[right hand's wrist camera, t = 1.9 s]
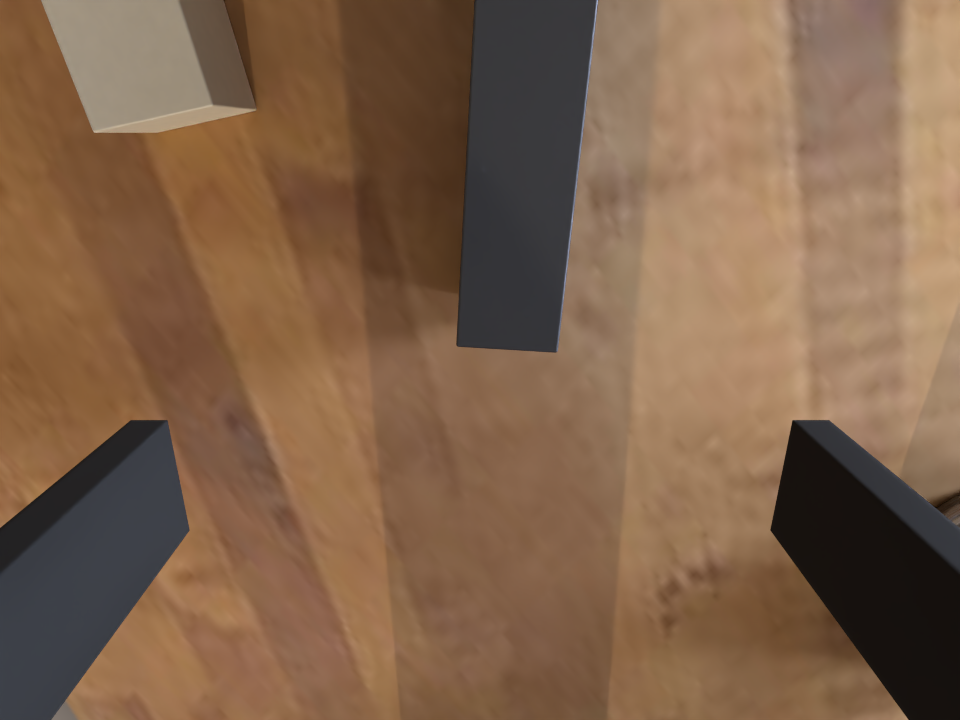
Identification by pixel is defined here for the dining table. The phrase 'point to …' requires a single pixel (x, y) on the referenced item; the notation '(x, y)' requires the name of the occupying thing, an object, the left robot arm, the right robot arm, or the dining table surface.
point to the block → (151, 62)
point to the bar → (522, 169)
